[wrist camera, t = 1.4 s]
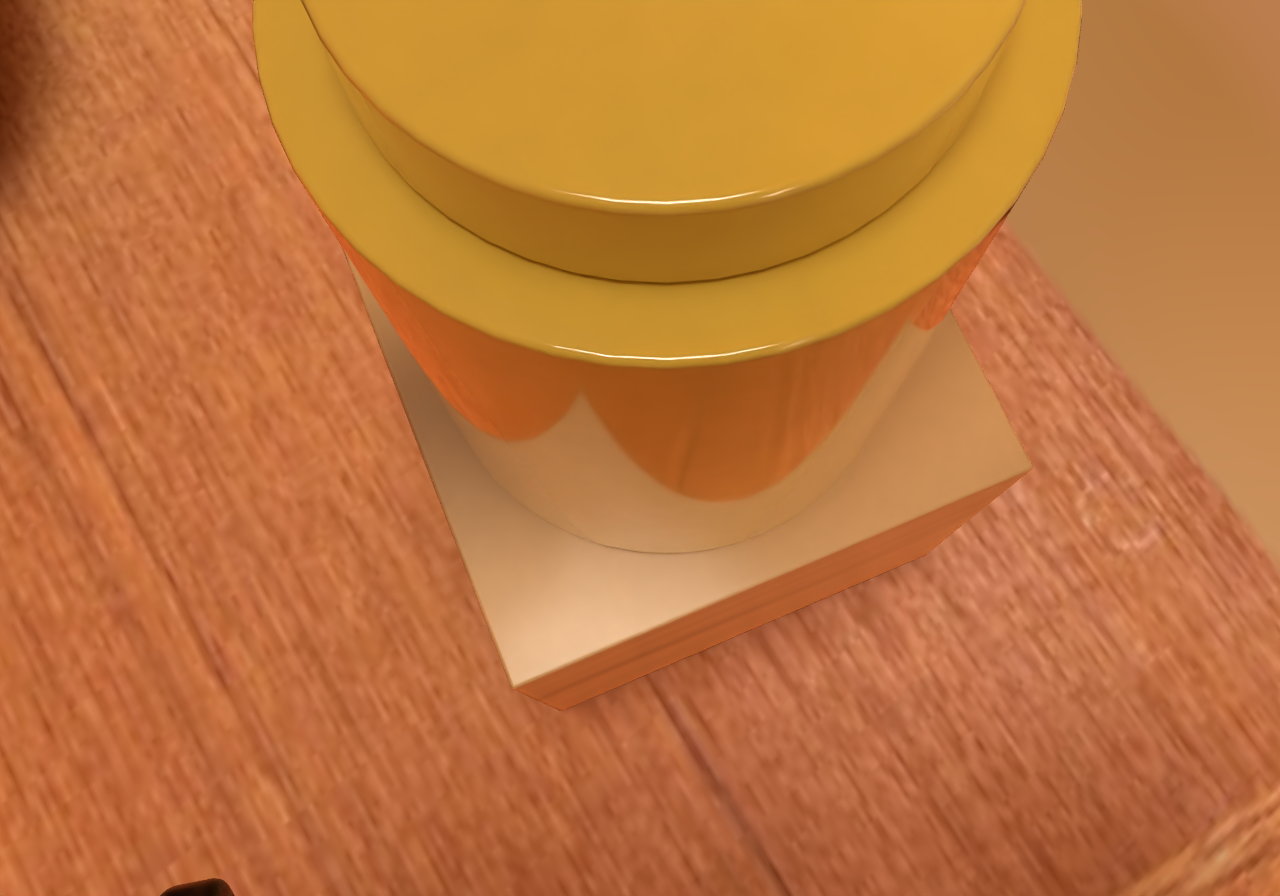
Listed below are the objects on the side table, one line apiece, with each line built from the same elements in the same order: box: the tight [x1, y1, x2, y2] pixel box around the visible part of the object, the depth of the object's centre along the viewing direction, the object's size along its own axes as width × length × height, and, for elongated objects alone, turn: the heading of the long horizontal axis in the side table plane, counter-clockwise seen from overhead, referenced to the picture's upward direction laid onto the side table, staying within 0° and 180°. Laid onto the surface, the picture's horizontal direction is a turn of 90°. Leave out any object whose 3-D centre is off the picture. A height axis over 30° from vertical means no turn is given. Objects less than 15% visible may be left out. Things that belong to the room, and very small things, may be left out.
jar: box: [252, 0, 1082, 554], centre depth 12 cm, size 6×6×9 cm
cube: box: [342, 247, 1033, 711], centre depth 20 cm, size 8×8×7 cm
